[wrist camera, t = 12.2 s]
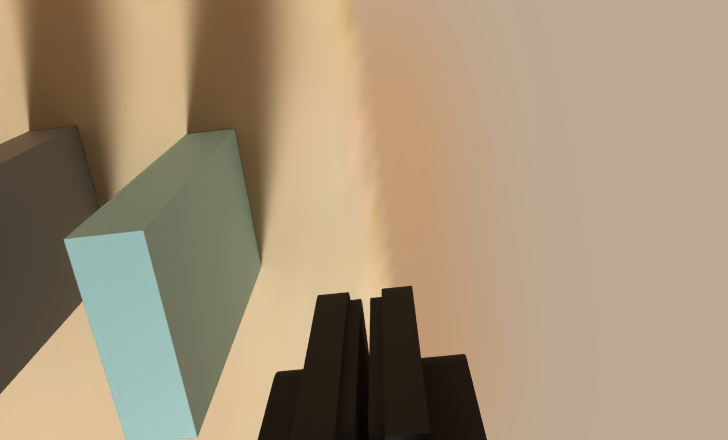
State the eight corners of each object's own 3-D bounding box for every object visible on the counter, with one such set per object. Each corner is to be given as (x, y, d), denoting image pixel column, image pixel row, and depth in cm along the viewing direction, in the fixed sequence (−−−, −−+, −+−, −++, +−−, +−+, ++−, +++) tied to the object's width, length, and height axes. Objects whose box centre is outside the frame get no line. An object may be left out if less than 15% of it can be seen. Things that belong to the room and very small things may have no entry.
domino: (29, 131, 21) (-200, 234, 12) (76, 125, 21) (-123, 225, 12) (72, 268, 23) (-104, 440, 14) (115, 263, 23) (-35, 433, 14)
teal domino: (186, 134, 21) (63, 239, 12) (234, 128, 21) (143, 230, 12) (217, 271, 23) (127, 444, 14) (261, 266, 23) (197, 437, 14)
